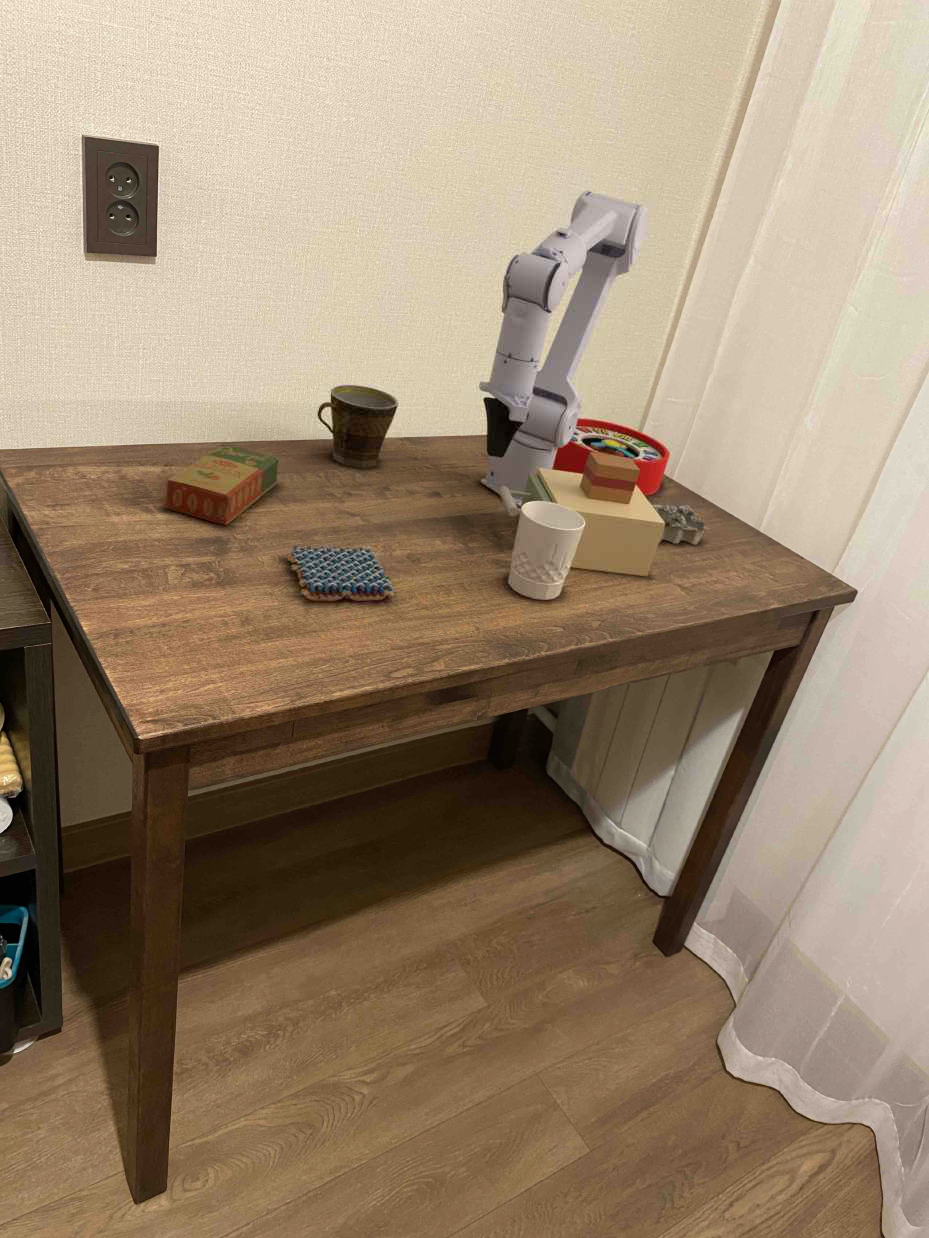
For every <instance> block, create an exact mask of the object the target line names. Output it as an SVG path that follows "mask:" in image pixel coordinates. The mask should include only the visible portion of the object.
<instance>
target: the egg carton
mask: <svg viewBox="0 0 929 1238" xmlns="http://www.w3.org/2000/svg"><path fill="white" fill-rule="evenodd" d="M651 505H652V506H653V508H654V509H655V510H656V512H657V513H658V514H659V516H660V517H661V518H662V519H663V521H664V522H665V525H664V528H663V531H662V534H661V537H660V540H659V543H661V541H663V540H664V541H667V542H670V543H672V544H679V543H680V541H684V542H687V543H689V544H690V545H698V543H699V542H700V541H701V538H702V535H703V534H706V531H708V530H710V527H709V526H706V525H705V520H704V519H701V517H700V515H698V513H697V512H694V510H693V509H692V507H691V505H690V504H683V505H678V506H677V505H670V506H669V505H668V503H666V504H665V503H664V504H651ZM659 543H658V544H659Z"/></svg>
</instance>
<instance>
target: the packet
mask: <svg viewBox="0 0 929 1238" xmlns="http://www.w3.org/2000/svg"><path fill="white" fill-rule="evenodd" d="M639 472H640V469H639V468H638V467H637V466H636V464H635V463H634V462H633V461H632V459H631V458H626V457H620V456H613V455H607V454H600V453H594V452H589V456H588V459H587V463H586V465H585V469H584V472H583V477H582V480H581V484H580V486H581V488H582V490H583V491H584V493H585V494H586V496H587V497H588V498H589V499H596V500H603V501H610V502H617V503H625V504H629V503H630V500H631V497H632V494H633V491H634V489H635V486H636V481H637V478H638V475H639Z"/></svg>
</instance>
